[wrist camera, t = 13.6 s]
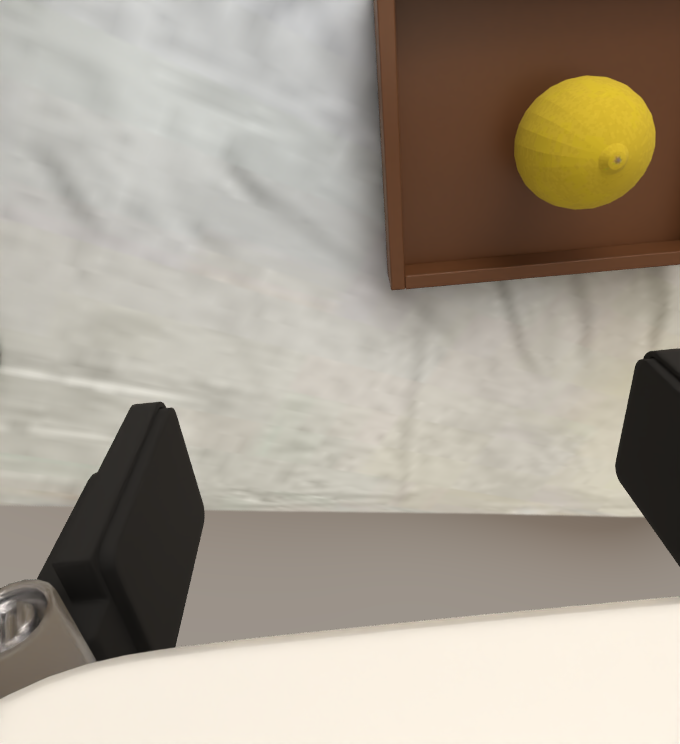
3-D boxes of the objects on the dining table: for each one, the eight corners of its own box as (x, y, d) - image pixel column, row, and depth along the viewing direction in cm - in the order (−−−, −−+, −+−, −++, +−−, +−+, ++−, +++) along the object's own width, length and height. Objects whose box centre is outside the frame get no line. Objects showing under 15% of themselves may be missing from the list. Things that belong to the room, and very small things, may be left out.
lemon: (626, 128, 29) (718, 157, 22) (538, 208, 31) (596, 256, 24) (563, 43, 27) (642, 45, 20) (474, 134, 29) (518, 164, 22)
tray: (387, 274, 33) (391, 290, 31) (372, -20, 26) (375, -25, 24) (685, 246, 33) (710, 262, 30) (757, -64, 25) (798, -74, 23)
